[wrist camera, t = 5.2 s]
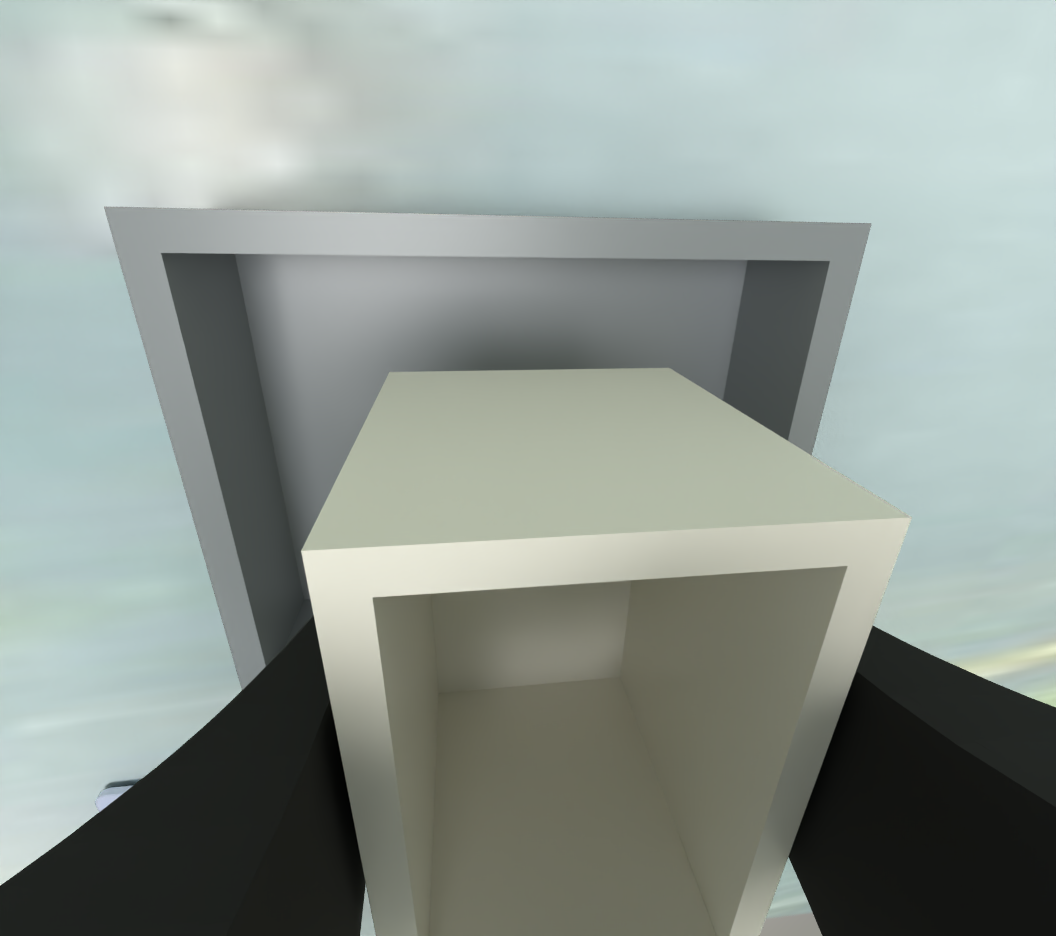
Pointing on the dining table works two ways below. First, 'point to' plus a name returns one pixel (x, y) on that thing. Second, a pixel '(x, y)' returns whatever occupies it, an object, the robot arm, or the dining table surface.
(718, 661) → the cream crate
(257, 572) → the grey crate
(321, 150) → the dining table surface
